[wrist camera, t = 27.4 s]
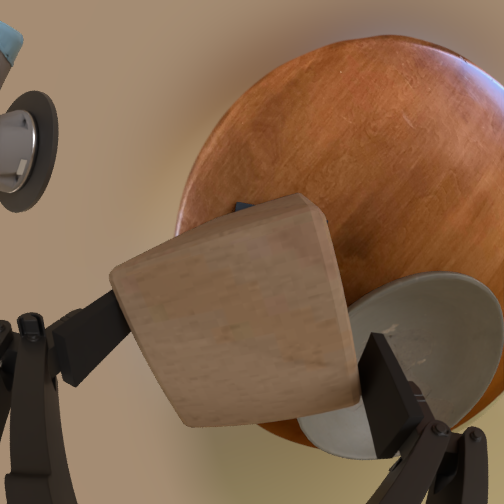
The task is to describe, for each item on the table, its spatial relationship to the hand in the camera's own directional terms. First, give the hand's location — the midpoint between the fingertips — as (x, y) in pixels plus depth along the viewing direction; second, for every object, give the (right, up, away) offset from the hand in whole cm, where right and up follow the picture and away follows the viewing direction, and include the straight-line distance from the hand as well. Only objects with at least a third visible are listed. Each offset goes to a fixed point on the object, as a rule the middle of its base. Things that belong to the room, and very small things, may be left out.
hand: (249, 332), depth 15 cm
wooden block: (+2, +5, +17) cm, 17 cm away
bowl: (+19, -9, +18) cm, 28 cm away
